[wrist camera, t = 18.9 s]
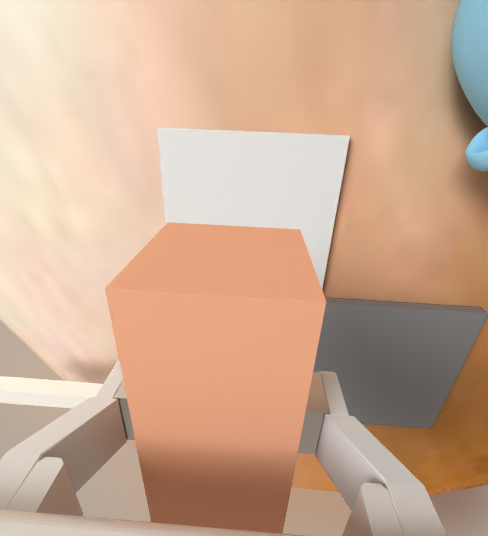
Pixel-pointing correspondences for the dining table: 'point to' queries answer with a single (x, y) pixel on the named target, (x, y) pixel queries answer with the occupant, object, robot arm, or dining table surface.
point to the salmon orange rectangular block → (218, 369)
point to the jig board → (396, 356)
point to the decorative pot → (473, 70)
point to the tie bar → (46, 392)
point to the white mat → (255, 181)
